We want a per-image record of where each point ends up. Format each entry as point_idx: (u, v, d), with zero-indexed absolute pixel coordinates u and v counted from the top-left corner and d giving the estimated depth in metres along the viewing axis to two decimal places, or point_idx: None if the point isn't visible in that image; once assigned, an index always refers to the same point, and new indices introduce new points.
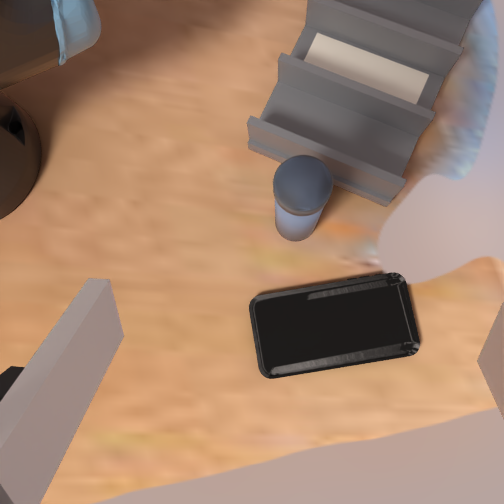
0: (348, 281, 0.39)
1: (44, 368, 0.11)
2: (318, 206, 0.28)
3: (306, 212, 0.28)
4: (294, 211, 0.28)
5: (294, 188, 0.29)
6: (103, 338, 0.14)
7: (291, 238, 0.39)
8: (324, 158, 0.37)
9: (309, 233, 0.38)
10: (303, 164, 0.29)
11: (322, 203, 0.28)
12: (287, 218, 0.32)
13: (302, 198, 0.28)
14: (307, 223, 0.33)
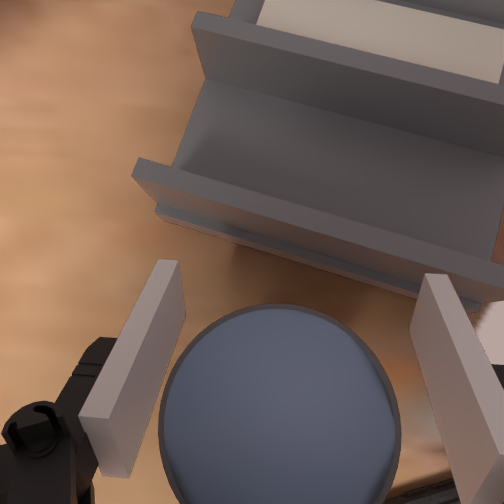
0: None
1: (137, 336, 0.12)
2: None
3: None
4: None
5: (246, 452, 0.07)
6: (173, 315, 0.15)
7: None
8: (323, 238, 0.15)
9: None
10: (271, 346, 0.07)
11: None
12: None
13: (283, 495, 0.07)
14: None
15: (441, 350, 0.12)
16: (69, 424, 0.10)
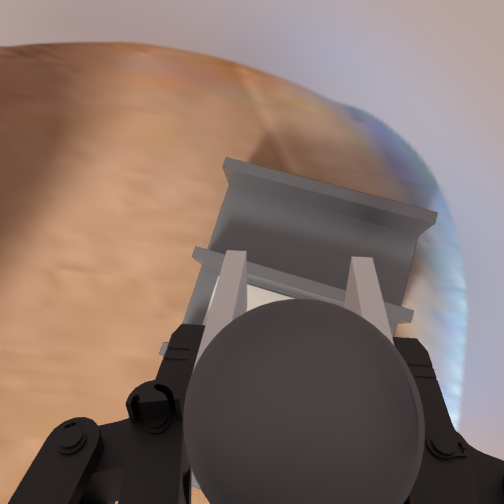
0: None
1: (224, 322, 0.12)
2: None
3: None
4: None
5: (269, 445, 0.07)
6: (242, 304, 0.15)
7: None
8: None
9: None
10: (294, 340, 0.07)
11: None
12: None
13: (307, 488, 0.07)
14: None
15: None
16: None
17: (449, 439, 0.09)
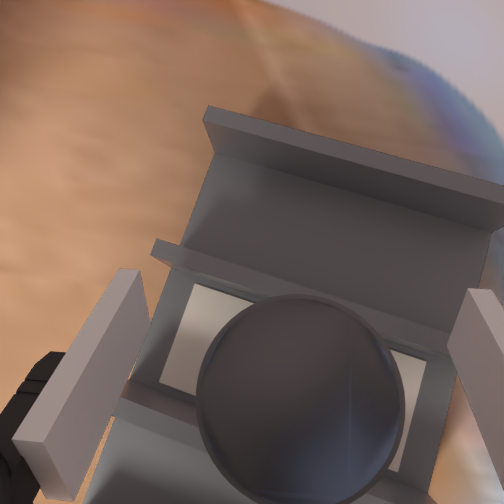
0: None
1: (85, 352, 0.11)
2: (365, 485, 0.08)
3: None
4: None
5: (271, 421, 0.08)
6: (134, 326, 0.14)
7: None
8: None
9: None
10: (292, 330, 0.08)
11: (377, 471, 0.08)
12: None
13: (303, 458, 0.08)
14: None
15: (492, 371, 0.12)
16: (6, 446, 0.10)
17: None
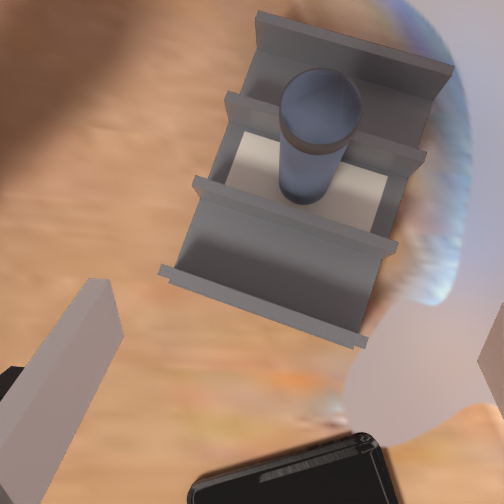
0: (308, 453, 0.30)
1: (44, 368, 0.11)
2: (346, 135, 0.20)
3: (330, 146, 0.20)
4: (313, 146, 0.20)
5: (310, 114, 0.20)
6: (103, 338, 0.14)
7: (302, 200, 0.31)
8: None
9: (324, 191, 0.30)
10: (319, 81, 0.21)
11: (351, 131, 0.20)
12: (300, 165, 0.24)
13: (322, 127, 0.20)
14: (326, 170, 0.25)
15: None
16: None
17: None
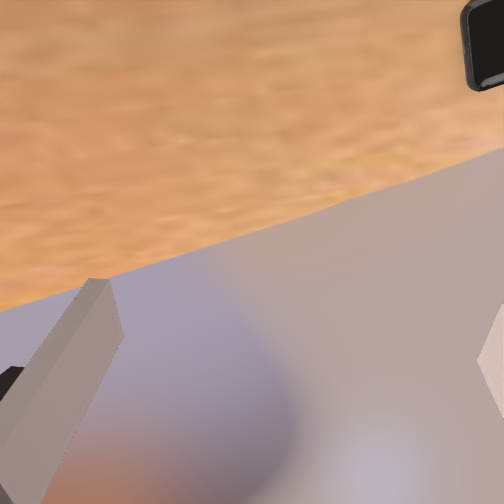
0: None
1: (44, 368, 0.11)
2: None
3: None
4: None
5: None
6: (103, 338, 0.14)
7: None
8: None
9: None
10: None
11: None
12: None
13: None
14: None
15: None
16: None
17: None
